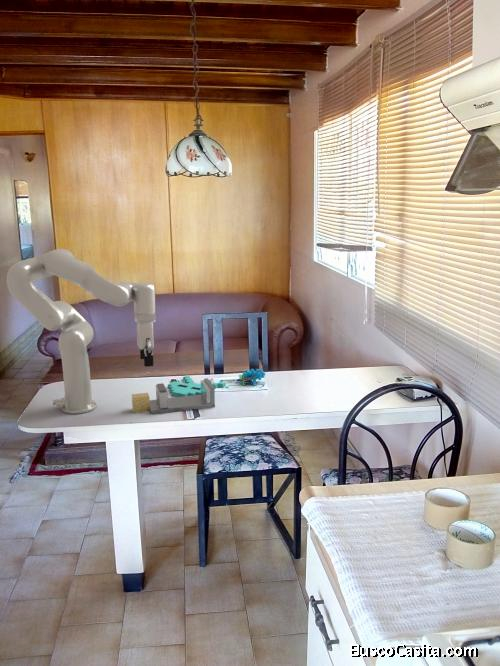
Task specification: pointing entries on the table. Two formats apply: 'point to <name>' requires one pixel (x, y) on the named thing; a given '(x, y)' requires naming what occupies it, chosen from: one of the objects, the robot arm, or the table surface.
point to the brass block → (140, 402)
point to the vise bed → (188, 400)
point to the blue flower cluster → (252, 375)
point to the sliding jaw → (162, 396)
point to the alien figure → (189, 387)
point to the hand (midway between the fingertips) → (146, 362)
